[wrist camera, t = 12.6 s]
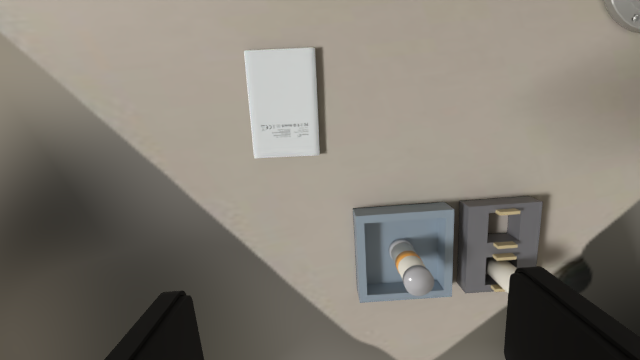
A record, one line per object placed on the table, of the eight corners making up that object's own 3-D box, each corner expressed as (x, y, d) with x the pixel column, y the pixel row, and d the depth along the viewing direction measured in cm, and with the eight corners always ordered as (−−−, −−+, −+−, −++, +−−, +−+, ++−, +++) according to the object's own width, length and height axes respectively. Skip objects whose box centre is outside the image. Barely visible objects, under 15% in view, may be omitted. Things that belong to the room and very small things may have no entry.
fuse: (502, 249, 41) (545, 282, 34) (501, 270, 42) (542, 307, 34) (479, 251, 41) (516, 284, 34) (478, 272, 42) (514, 309, 34)
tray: (444, 201, 40) (454, 209, 37) (442, 283, 42) (451, 296, 40) (353, 208, 40) (355, 216, 37) (357, 289, 43) (359, 302, 40)
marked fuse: (412, 237, 40) (434, 268, 33) (412, 259, 41) (434, 295, 33) (388, 239, 40) (404, 270, 33) (388, 261, 41) (405, 297, 33)
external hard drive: (315, 49, 36) (320, 153, 39) (246, 52, 36) (255, 156, 39) (315, 46, 34) (319, 155, 37) (243, 50, 34) (253, 158, 37)
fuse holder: (528, 195, 40) (548, 204, 36) (521, 278, 42) (539, 293, 39) (459, 200, 40) (472, 209, 36) (457, 282, 42) (469, 297, 39)
